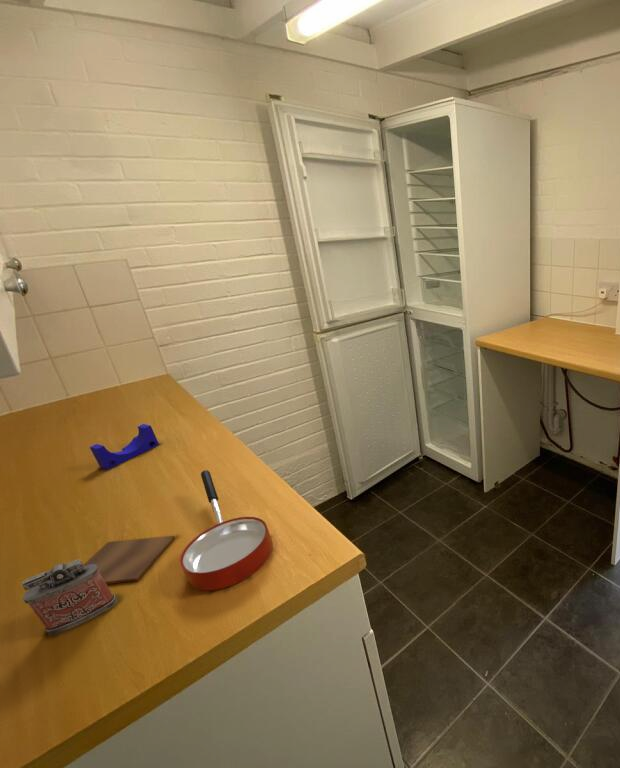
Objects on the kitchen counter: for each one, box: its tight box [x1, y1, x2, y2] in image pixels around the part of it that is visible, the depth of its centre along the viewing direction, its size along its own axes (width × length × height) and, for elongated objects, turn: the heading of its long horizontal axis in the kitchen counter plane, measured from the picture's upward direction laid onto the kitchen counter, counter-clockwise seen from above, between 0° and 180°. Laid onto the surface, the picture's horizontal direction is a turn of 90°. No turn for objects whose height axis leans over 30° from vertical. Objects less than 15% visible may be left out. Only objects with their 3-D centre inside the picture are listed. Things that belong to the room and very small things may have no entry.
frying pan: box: [179, 469, 274, 591], centre depth 80 cm, size 32×13×6 cm, turn 46°
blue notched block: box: [89, 423, 160, 471], centre depth 108 cm, size 12×4×6 cm, turn 159°
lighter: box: [21, 558, 118, 636], centre depth 64 cm, size 8×3×10 cm, turn 133°
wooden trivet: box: [83, 535, 176, 585], centre depth 75 cm, size 12×10×1 cm
